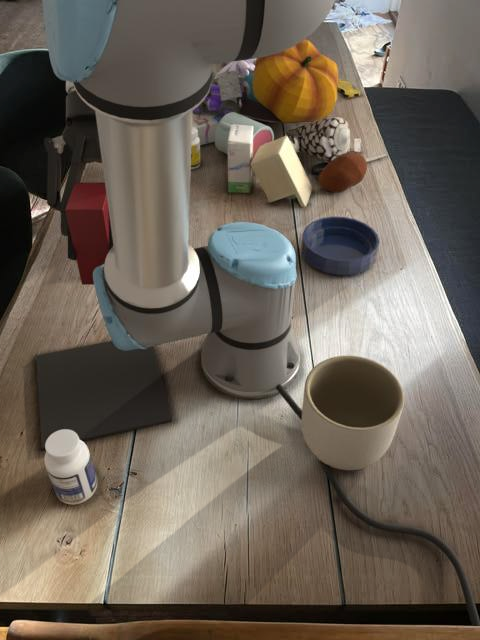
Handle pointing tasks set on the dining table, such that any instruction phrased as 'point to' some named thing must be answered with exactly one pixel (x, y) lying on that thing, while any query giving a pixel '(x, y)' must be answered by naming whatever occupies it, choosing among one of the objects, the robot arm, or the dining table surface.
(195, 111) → the toy race car
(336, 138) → the seashell
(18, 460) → the dining table surface
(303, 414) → the planter
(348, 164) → the potato
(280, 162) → the cream wooden brick
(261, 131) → the mug
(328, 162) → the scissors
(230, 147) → the ink box
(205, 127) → the ink box
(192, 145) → the supplement bottle
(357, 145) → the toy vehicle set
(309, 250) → the bowl
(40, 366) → the mat
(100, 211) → the case
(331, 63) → the decorative pumpkin
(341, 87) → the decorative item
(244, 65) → the water lily
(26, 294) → the dining table surface
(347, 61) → the dining table surface
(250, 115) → the decorative object
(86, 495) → the pill bottle
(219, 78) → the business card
